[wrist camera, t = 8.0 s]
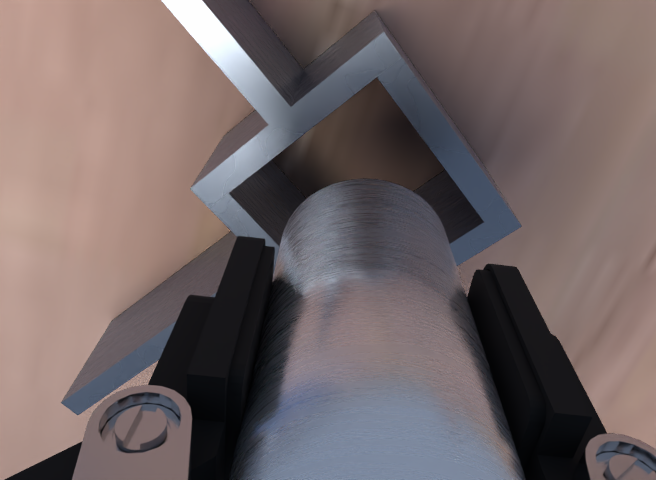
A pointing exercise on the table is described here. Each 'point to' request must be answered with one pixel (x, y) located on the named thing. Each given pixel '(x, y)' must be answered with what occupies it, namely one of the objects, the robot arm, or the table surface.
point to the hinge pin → (370, 352)
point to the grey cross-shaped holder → (270, 182)
